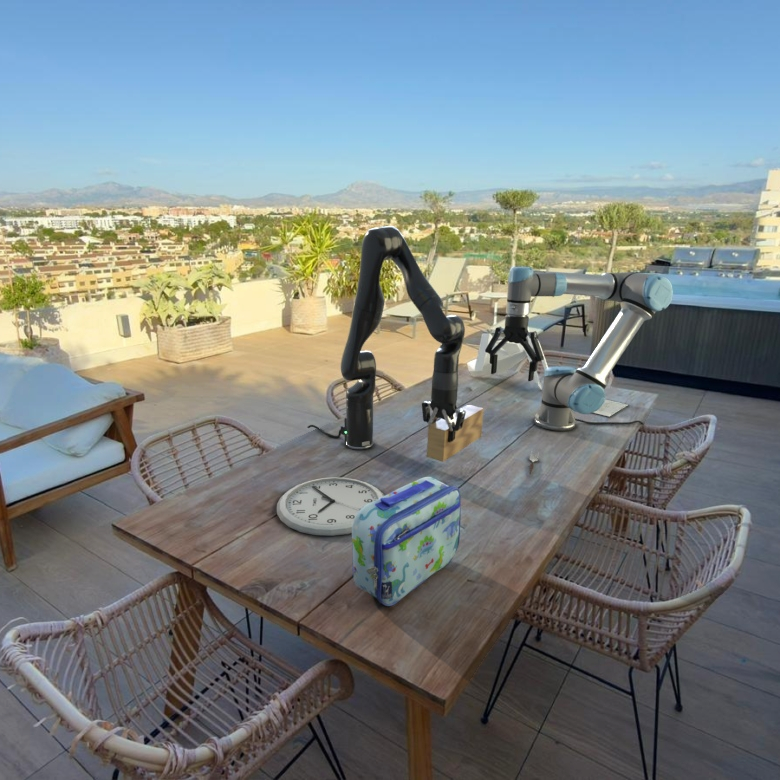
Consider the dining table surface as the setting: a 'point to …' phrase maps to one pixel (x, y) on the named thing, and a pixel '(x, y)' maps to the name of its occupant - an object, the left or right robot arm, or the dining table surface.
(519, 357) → the white plastic object
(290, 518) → the wall clock
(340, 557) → the dining table surface
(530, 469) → the fork
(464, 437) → the box
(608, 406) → the invitation card
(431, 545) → the lunch box
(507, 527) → the dining table surface
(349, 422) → the left robot arm
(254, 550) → the dining table surface
